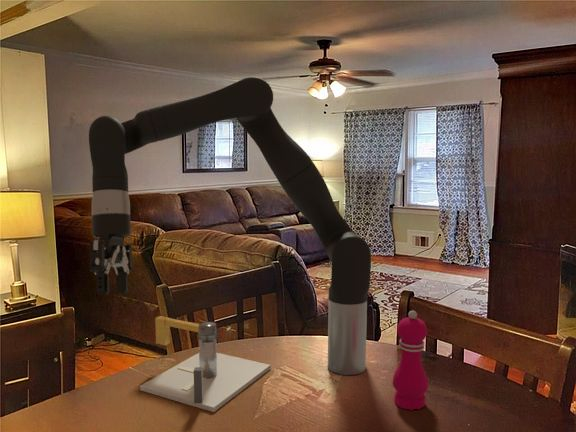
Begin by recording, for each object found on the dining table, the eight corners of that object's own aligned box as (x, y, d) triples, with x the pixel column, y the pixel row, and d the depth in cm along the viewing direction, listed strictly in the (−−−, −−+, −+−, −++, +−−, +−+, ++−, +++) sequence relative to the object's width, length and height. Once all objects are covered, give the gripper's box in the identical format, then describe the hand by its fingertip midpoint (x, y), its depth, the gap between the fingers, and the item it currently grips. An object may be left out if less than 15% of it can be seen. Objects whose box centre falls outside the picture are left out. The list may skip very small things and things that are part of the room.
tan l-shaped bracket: (220, 352, 114) (219, 323, 114) (209, 358, 111) (209, 329, 110) (164, 339, 122) (163, 312, 121) (152, 345, 119) (152, 317, 118)
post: (206, 369, 117) (206, 335, 116) (220, 373, 115) (219, 338, 114) (196, 376, 113) (195, 341, 112) (210, 380, 112) (209, 344, 110)
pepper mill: (428, 413, 99) (432, 317, 97) (392, 409, 101) (395, 315, 98) (426, 396, 106) (429, 306, 104) (391, 393, 108) (394, 304, 105)
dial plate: (204, 353, 129) (203, 323, 128) (270, 368, 120) (270, 337, 119) (138, 390, 108) (137, 356, 108) (212, 413, 99) (211, 375, 98)
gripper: (113, 208, 94) (115, 293, 92) (142, 216, 108) (144, 291, 106) (75, 211, 95) (77, 296, 93) (109, 219, 109) (111, 293, 107)
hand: (113, 293), depth 100 cm, fingers open, 8 cm apart
